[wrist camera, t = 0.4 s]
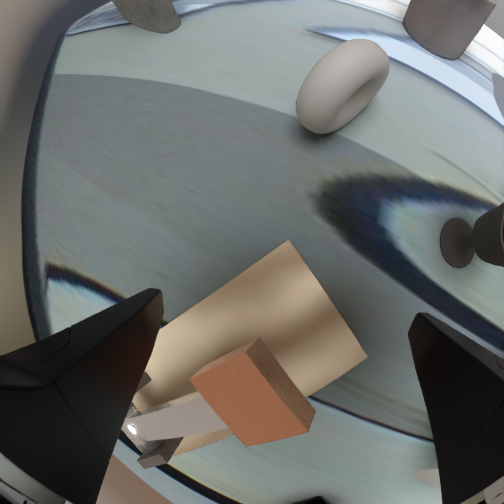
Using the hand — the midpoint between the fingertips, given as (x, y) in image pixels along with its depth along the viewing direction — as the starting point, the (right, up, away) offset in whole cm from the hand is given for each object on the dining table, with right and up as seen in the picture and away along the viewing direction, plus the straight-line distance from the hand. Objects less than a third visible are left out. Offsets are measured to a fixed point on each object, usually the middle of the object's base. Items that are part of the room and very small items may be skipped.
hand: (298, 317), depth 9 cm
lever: (-6, -8, +7) cm, 13 cm away
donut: (+7, +15, +15) cm, 22 cm away
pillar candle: (+24, +32, +13) cm, 42 cm away
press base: (-4, -8, +15) cm, 17 cm away
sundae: (+19, +3, +13) cm, 23 cm away
